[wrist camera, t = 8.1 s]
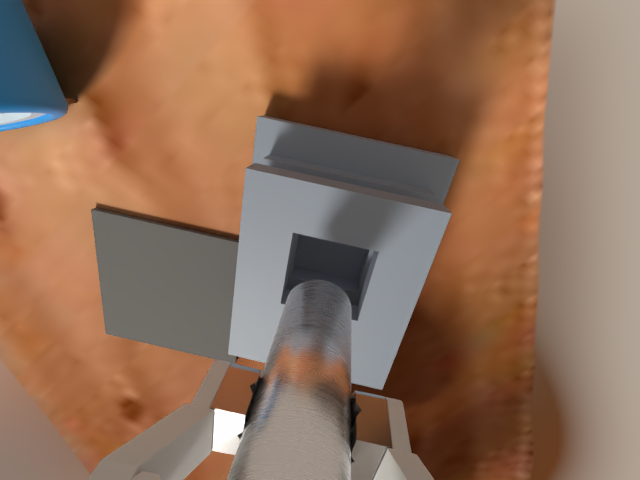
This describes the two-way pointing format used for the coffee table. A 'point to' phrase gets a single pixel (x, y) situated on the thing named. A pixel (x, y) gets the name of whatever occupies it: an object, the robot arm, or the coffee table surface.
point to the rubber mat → (166, 284)
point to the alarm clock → (25, 73)
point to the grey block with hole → (337, 235)
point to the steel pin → (303, 393)
